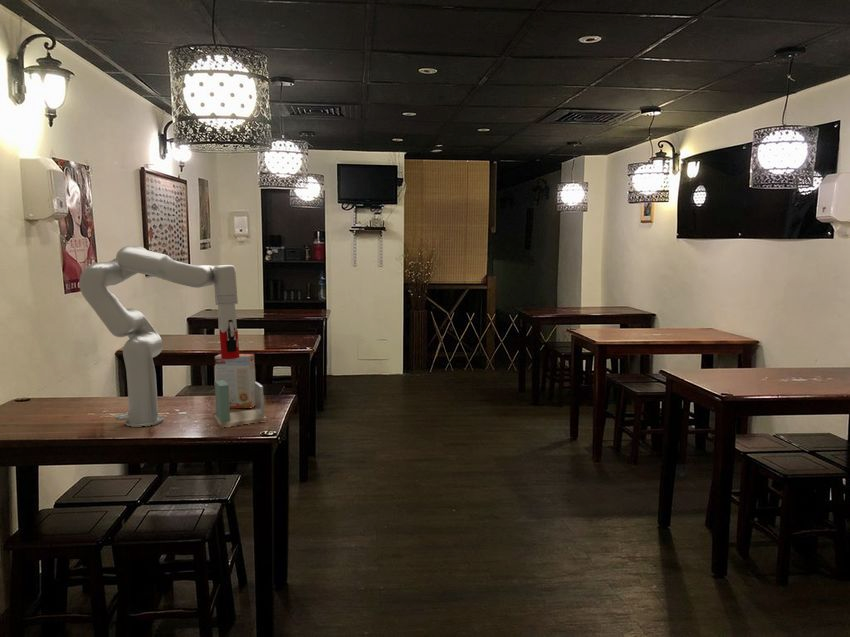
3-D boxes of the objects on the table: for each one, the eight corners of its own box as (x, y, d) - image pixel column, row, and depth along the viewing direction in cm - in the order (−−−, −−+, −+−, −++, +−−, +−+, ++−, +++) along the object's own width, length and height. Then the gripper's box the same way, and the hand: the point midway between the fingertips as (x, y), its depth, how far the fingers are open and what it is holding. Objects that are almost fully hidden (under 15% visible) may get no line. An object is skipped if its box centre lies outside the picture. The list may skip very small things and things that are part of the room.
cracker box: (257, 405, 258) (255, 353, 255) (251, 409, 252) (249, 356, 249) (223, 404, 259) (220, 353, 257) (216, 408, 253) (214, 355, 251)
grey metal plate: (261, 416, 235) (260, 386, 234) (255, 411, 243) (254, 382, 242) (264, 416, 236) (262, 386, 234) (258, 410, 244) (257, 381, 242)
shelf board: (221, 428, 227) (221, 424, 226) (214, 418, 239) (213, 414, 239) (267, 421, 234) (267, 417, 234) (257, 412, 246) (257, 409, 246)
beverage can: (242, 357, 236) (239, 325, 234) (236, 361, 229) (234, 327, 228) (225, 358, 236) (222, 325, 234) (218, 361, 230) (216, 327, 228)
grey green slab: (221, 422, 228) (219, 386, 227) (216, 415, 237) (214, 380, 236) (230, 421, 230) (228, 385, 228) (224, 414, 239) (223, 379, 237)
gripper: (211, 299, 236) (215, 348, 238) (219, 302, 221) (223, 354, 223) (232, 297, 239) (236, 346, 242) (242, 300, 224) (245, 352, 226)
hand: (230, 349), depth 232 cm, fingers closed on beverage can, 6 cm apart
